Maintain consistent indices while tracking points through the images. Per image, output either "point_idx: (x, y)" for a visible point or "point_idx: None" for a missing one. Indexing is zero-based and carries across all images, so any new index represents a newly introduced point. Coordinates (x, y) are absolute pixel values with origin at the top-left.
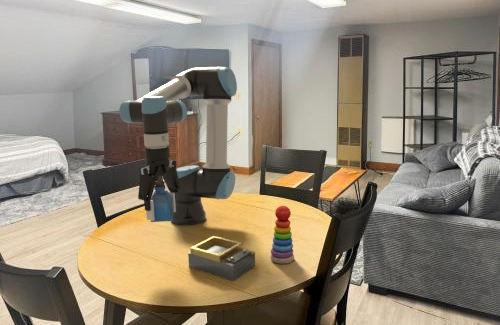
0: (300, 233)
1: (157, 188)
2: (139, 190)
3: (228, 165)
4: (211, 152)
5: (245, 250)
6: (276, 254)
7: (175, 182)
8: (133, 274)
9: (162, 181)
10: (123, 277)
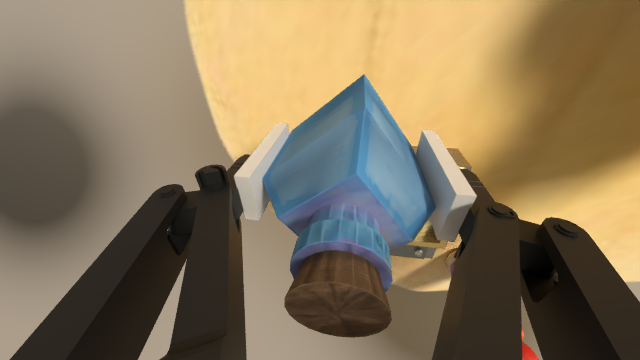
0: (636, 253)
1: (296, 272)
2: (122, 240)
3: None
4: None
5: (417, 255)
6: (452, 270)
7: (537, 307)
8: (276, 53)
9: (381, 320)
10: (251, 43)
